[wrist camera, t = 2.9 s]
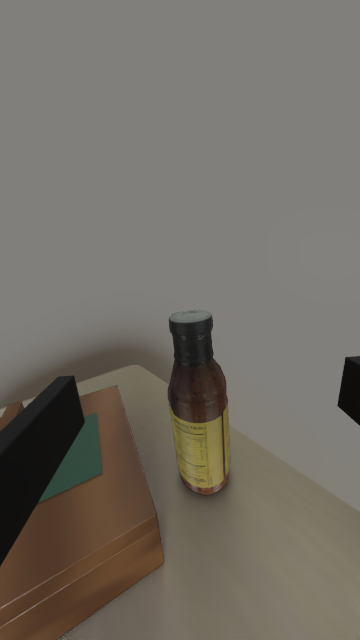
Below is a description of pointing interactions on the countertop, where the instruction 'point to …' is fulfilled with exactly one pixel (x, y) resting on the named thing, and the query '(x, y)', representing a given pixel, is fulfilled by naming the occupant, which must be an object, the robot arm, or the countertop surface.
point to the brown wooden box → (81, 529)
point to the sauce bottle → (198, 404)
